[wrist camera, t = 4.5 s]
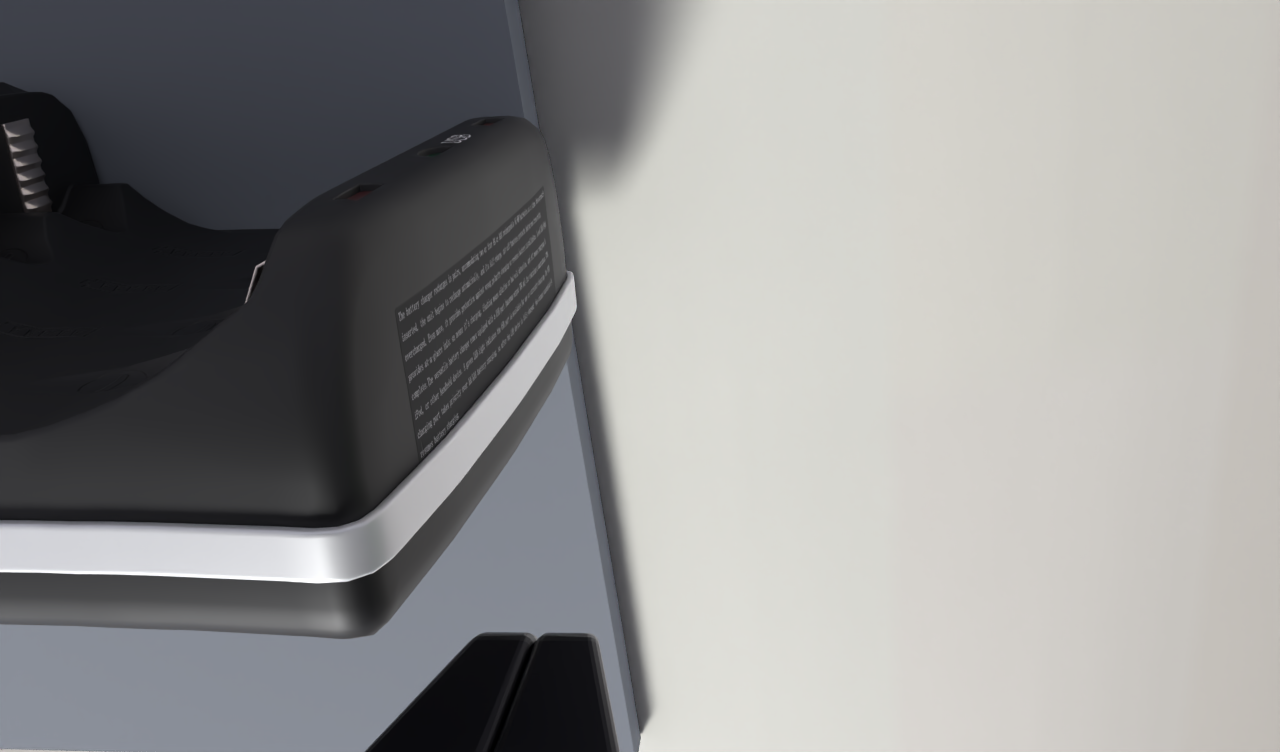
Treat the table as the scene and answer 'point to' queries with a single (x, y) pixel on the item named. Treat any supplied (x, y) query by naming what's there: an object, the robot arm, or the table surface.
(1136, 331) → the table surface
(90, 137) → the mat
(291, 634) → the battery charger
